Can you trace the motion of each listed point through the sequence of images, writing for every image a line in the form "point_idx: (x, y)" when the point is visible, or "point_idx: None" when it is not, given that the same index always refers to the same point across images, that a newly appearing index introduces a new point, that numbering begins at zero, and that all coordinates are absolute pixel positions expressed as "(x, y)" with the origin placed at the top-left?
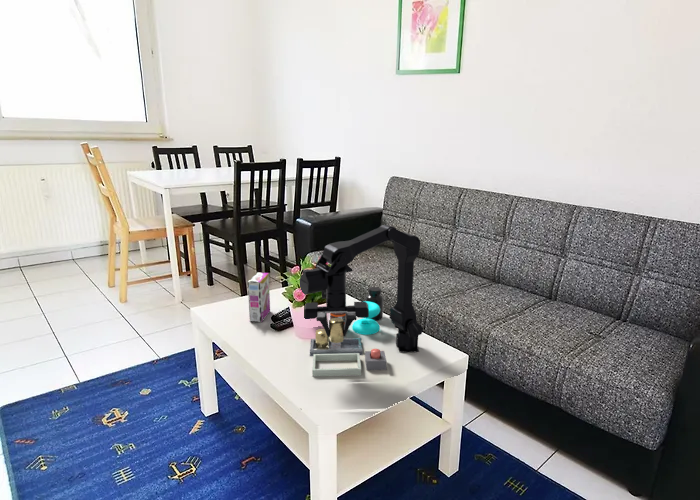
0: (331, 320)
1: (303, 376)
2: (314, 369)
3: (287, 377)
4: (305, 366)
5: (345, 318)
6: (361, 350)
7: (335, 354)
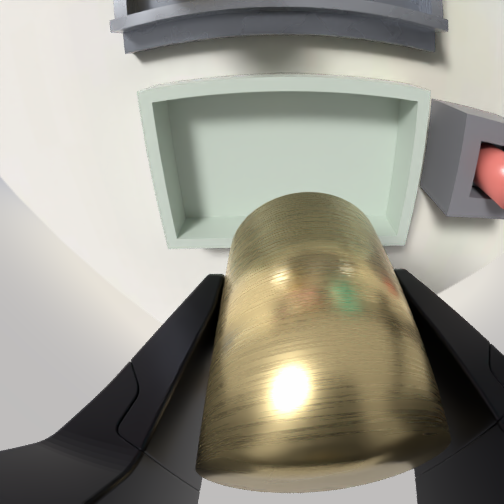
0: (239, 471)
1: (138, 203)
2: (176, 242)
3: (85, 212)
4: (125, 124)
5: (478, 461)
6: (437, 29)
7: (282, 86)
